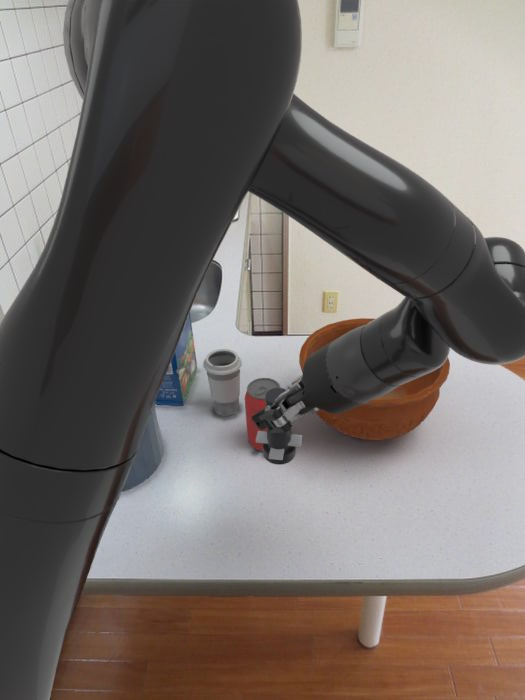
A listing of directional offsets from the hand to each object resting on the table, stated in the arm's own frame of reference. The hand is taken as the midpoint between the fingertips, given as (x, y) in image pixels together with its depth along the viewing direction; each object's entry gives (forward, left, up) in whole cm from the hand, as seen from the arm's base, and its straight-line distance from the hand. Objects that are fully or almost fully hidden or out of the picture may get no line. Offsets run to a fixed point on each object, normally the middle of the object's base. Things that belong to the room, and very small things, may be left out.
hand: (265, 414), depth 69 cm
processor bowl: (-2, +30, -21) cm, 36 cm away
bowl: (+27, -5, -21) cm, 35 cm away
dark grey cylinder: (0, -2, -6) cm, 6 cm away
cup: (+18, +20, -21) cm, 34 cm away
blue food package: (+19, +33, -21) cm, 43 cm away
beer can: (+14, +9, -21) cm, 27 cm away
